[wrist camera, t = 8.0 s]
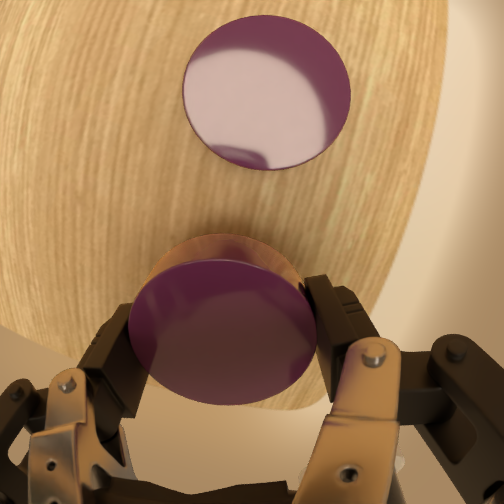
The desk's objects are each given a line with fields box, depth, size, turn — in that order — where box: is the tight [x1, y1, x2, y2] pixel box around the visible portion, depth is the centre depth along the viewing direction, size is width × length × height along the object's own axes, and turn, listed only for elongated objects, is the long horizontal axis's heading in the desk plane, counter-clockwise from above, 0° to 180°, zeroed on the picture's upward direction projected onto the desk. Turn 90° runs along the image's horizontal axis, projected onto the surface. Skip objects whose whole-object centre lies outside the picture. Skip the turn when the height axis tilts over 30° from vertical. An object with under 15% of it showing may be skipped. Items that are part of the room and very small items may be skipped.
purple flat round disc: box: [128, 233, 317, 405], centre depth 10 cm, size 6×6×3 cm
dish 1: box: [182, 15, 351, 171], centre depth 10 cm, size 6×6×3 cm
